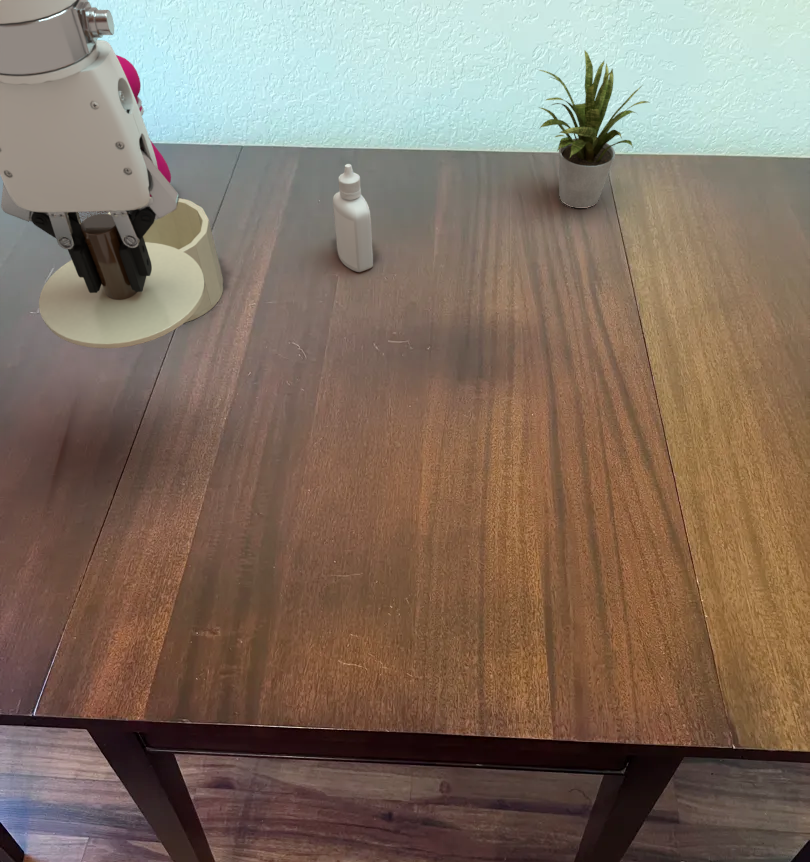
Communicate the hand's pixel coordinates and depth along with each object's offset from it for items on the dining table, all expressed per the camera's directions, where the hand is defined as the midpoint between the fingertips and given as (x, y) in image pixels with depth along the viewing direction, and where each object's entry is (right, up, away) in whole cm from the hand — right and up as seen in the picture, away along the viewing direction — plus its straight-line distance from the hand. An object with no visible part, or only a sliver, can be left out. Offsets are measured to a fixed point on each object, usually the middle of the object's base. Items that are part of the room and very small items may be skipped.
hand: (118, 280), depth 64 cm
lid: (0, -1, +1) cm, 1 cm away
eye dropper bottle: (+17, +13, +33) cm, 39 cm away
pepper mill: (-10, +23, +40) cm, 47 cm away
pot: (-5, +8, +29) cm, 31 cm away
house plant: (+46, +25, +41) cm, 66 cm away
